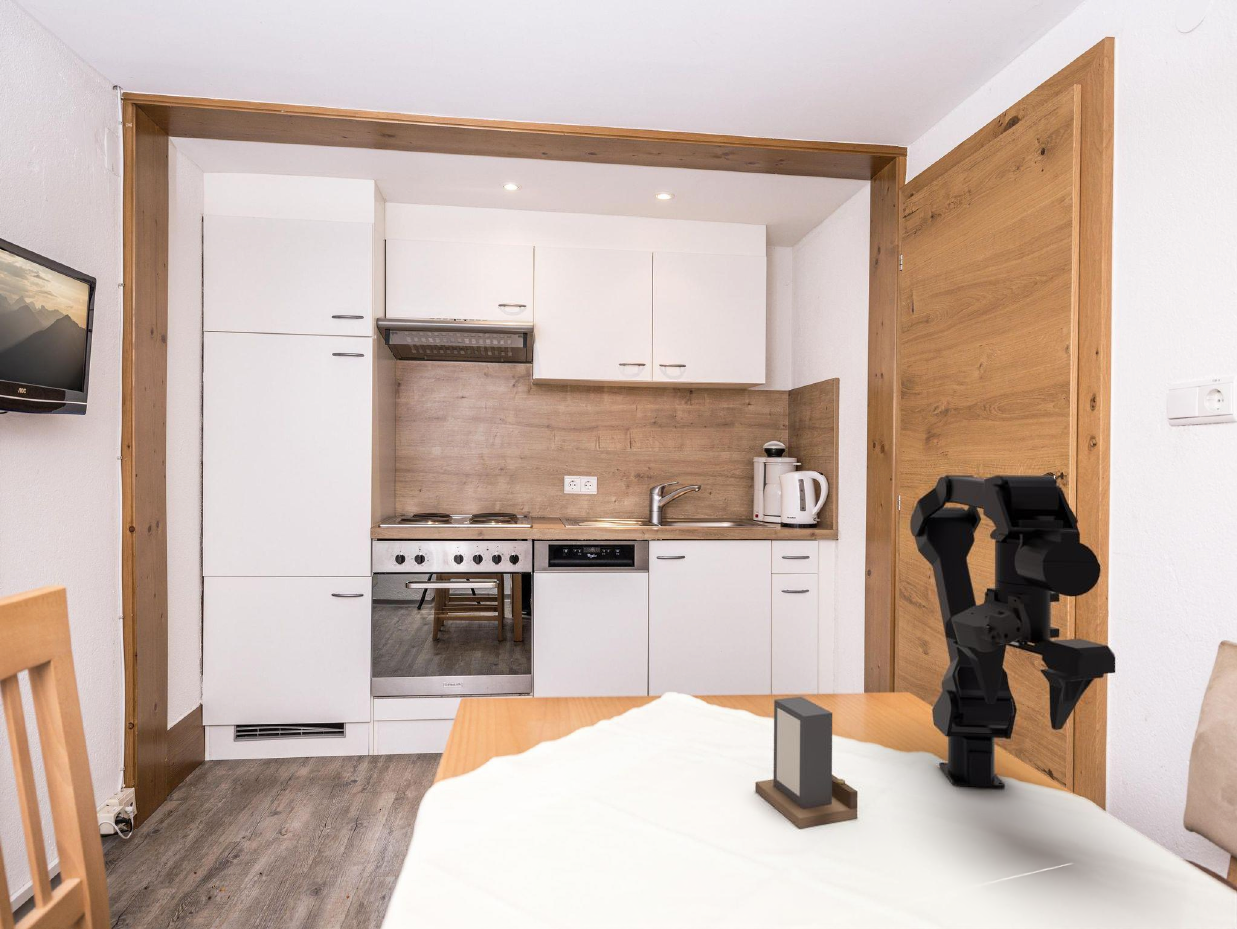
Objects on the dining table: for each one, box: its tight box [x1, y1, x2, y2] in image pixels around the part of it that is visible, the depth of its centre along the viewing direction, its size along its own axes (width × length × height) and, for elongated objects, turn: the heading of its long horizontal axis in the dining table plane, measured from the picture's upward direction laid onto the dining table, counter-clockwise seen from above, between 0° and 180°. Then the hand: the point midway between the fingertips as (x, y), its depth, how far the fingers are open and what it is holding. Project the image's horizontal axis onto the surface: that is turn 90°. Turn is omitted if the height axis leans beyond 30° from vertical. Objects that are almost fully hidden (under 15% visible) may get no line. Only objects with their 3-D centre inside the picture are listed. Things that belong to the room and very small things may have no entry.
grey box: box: [773, 696, 833, 809], centre depth 87 cm, size 4×6×11 cm, turn 20°
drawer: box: [754, 774, 858, 829], centre depth 87 cm, size 8×10×4 cm
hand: (1021, 715), depth 82 cm, fingers open, 9 cm apart
